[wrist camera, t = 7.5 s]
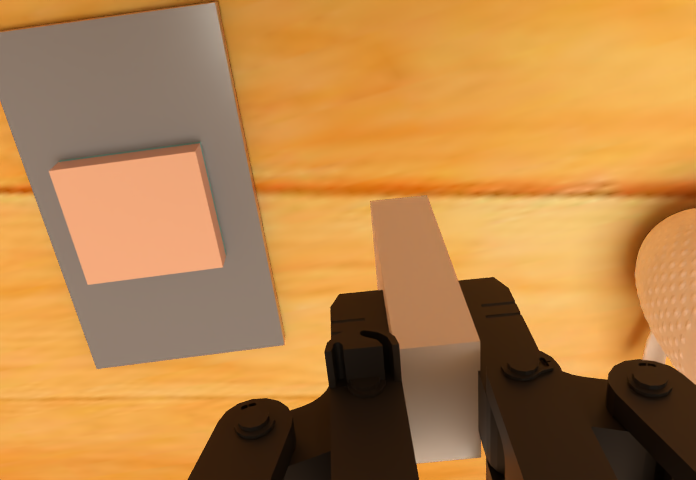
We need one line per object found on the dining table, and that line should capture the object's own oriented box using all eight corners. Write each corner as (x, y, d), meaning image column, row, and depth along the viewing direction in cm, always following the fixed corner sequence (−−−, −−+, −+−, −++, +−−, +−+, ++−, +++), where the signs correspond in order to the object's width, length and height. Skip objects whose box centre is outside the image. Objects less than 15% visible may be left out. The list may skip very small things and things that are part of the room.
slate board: (-16, 32, 39) (-24, 35, 39) (217, 0, 39) (215, 2, 38) (100, 360, 50) (96, 368, 49) (285, 337, 50) (284, 344, 49)
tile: (200, 141, 42) (60, 160, 42) (195, 151, 40) (48, 170, 40) (226, 253, 45) (97, 270, 45) (222, 267, 43) (87, 284, 44)
